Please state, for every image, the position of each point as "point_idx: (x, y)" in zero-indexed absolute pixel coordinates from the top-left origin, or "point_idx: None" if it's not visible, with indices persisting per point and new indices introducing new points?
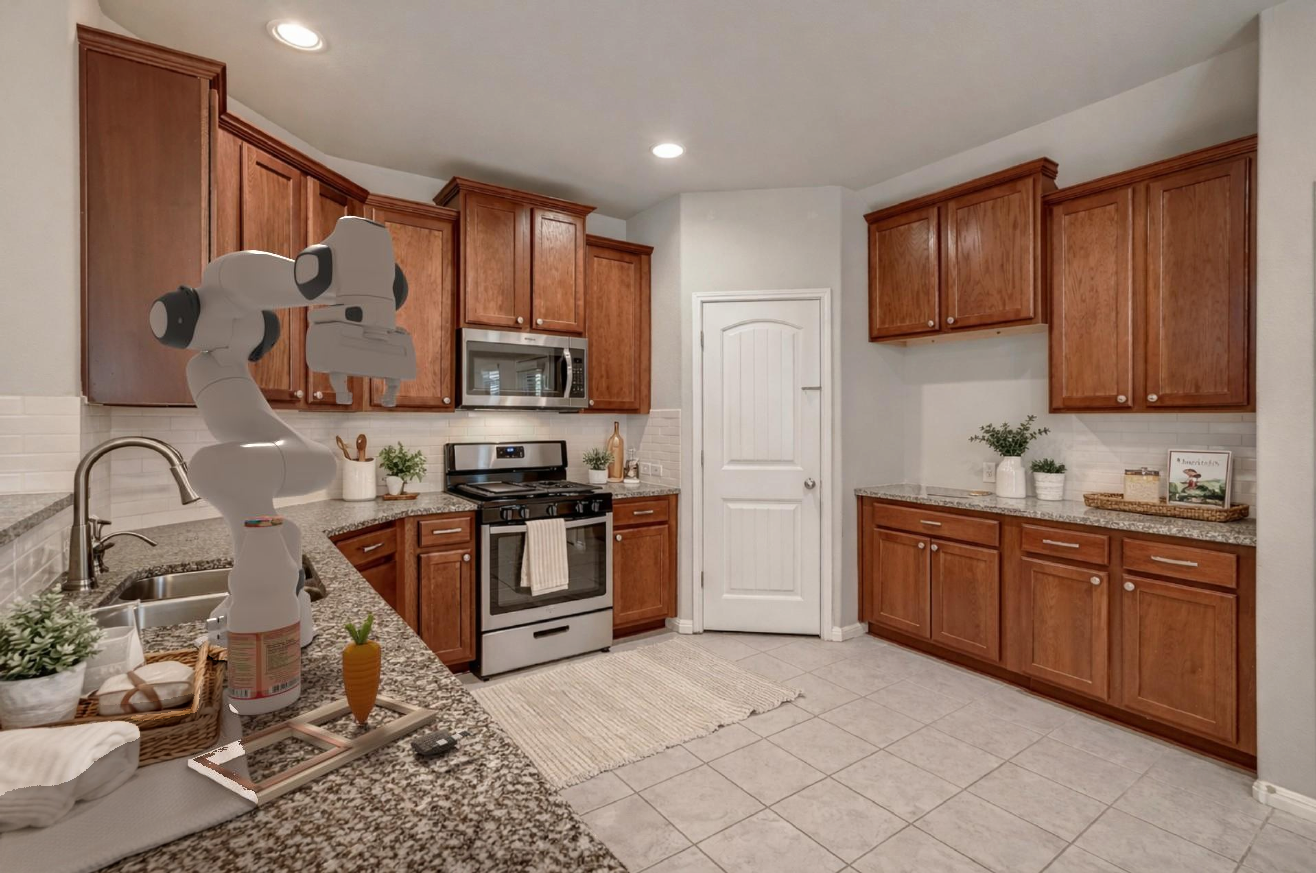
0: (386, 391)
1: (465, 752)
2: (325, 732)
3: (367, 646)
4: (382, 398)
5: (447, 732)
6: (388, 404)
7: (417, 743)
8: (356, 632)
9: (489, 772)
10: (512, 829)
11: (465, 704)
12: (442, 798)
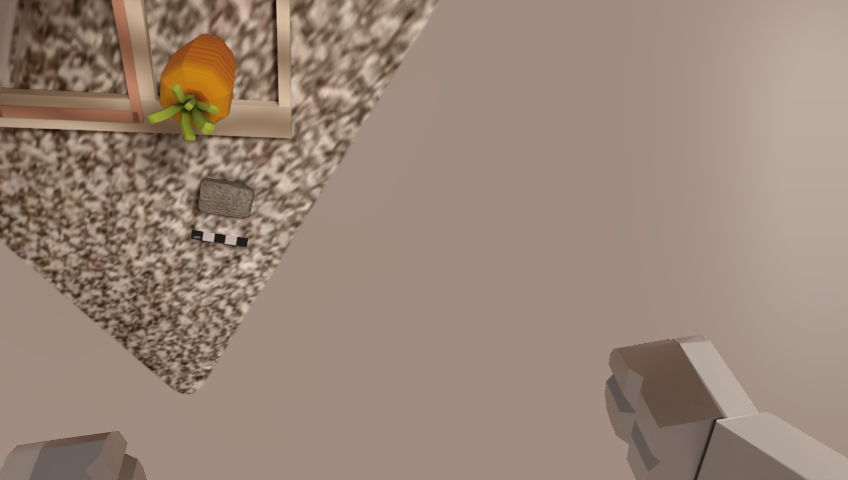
0: (780, 464)
1: (246, 226)
2: (141, 41)
3: (192, 123)
4: (643, 414)
5: (245, 206)
6: (609, 408)
7: (200, 197)
8: (183, 102)
9: (230, 273)
10: (173, 341)
11: (354, 132)
12: (163, 269)
